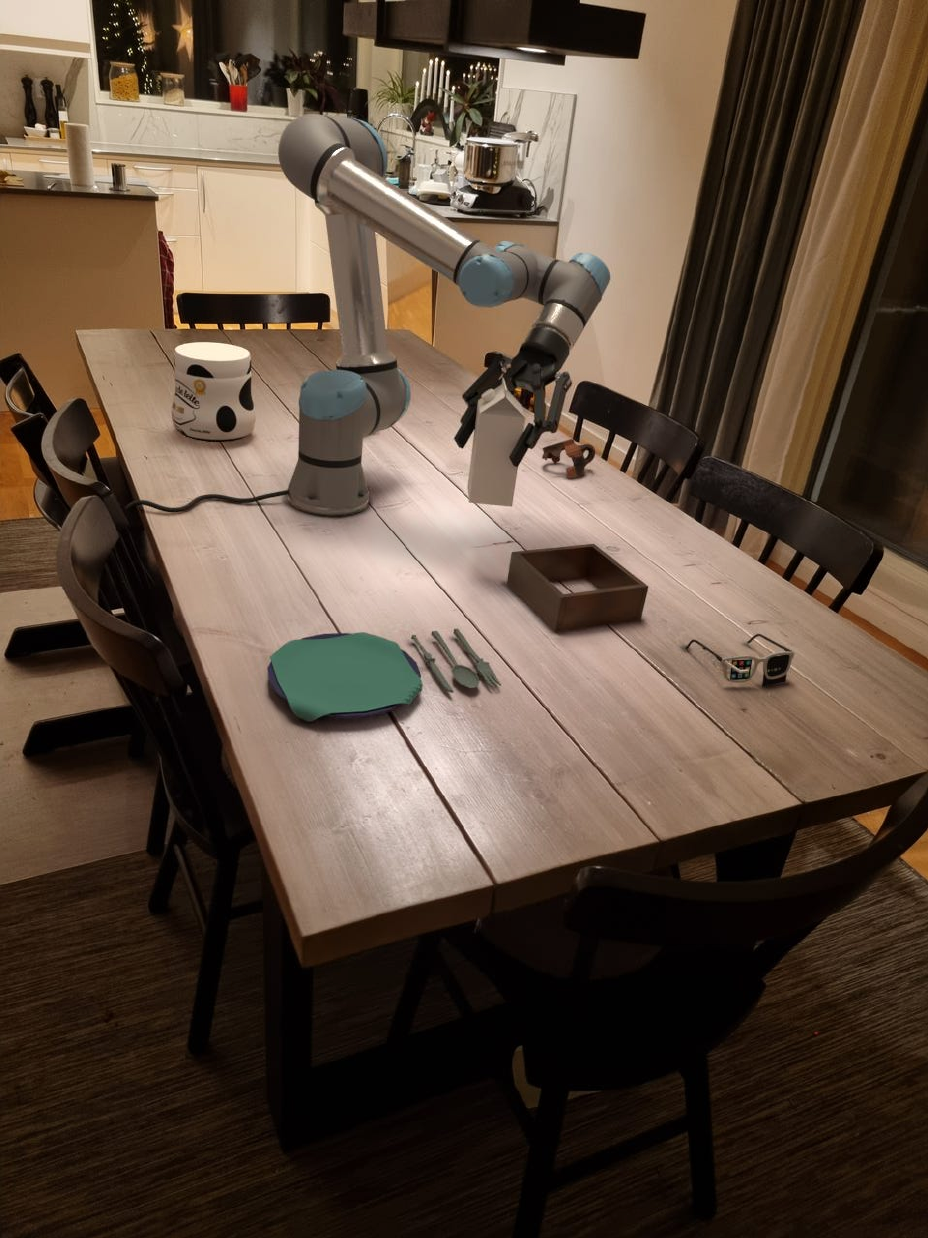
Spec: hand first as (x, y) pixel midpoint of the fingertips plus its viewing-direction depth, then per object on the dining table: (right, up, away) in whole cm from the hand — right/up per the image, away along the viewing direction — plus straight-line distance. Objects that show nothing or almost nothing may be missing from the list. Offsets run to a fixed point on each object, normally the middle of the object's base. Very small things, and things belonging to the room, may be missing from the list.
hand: (485, 452), depth 145 cm
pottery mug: (+20, +7, +59) cm, 63 cm away
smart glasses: (+37, -34, -10) cm, 52 cm away
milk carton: (+1, -6, +7) cm, 9 cm away
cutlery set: (-15, -34, -23) cm, 44 cm away
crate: (+14, -24, +3) cm, 28 cm away
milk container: (-57, +13, +53) cm, 79 cm away
